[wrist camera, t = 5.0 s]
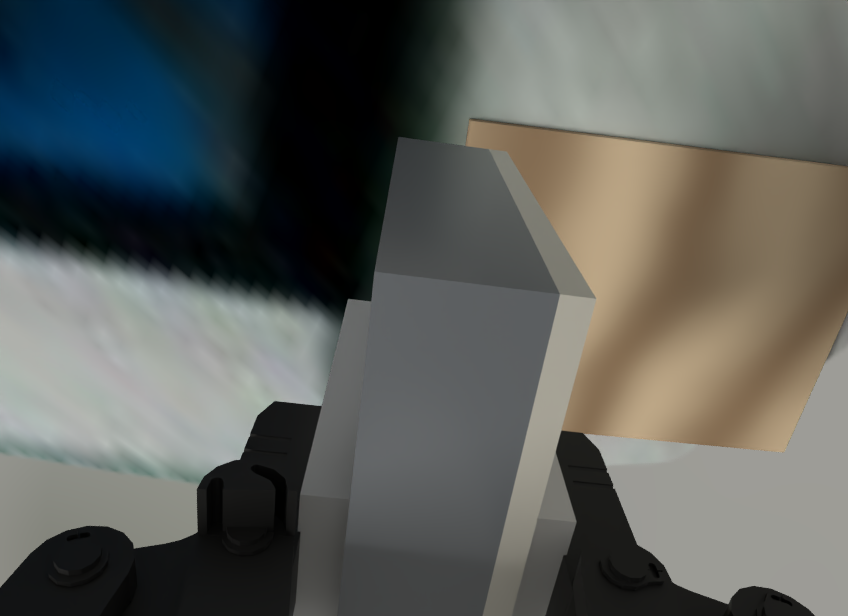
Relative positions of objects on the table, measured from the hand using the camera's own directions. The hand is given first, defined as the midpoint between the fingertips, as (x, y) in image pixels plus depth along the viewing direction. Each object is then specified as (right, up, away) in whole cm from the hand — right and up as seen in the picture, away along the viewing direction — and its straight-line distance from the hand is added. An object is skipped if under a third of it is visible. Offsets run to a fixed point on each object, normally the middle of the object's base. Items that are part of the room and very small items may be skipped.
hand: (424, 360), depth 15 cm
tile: (0, 0, +1) cm, 1 cm away
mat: (+10, +1, +14) cm, 17 cm away
